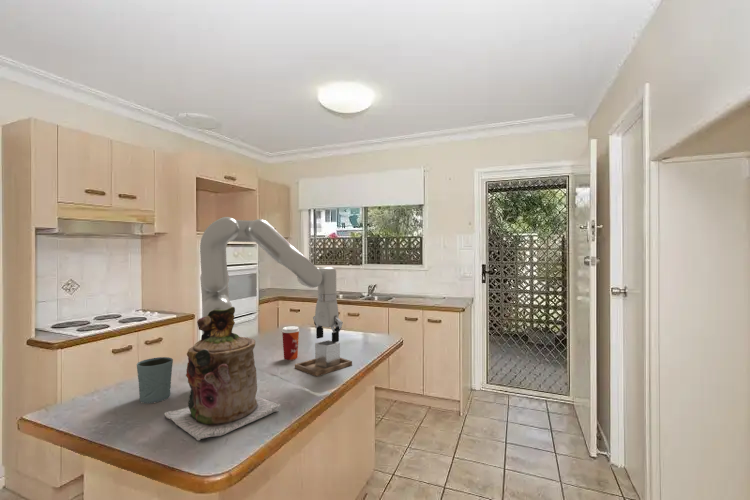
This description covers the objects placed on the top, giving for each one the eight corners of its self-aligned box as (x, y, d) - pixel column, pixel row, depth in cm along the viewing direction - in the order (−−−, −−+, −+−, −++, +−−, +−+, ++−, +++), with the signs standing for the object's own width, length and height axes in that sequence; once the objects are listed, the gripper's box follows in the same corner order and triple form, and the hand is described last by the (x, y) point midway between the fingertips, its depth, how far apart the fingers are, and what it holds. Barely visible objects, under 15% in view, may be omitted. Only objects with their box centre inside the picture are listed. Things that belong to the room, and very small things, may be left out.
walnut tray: (316, 379, 137) (316, 372, 137) (294, 370, 146) (294, 364, 146) (352, 367, 150) (352, 361, 150) (329, 360, 159) (329, 354, 159)
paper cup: (297, 362, 156) (297, 329, 156) (279, 362, 156) (279, 329, 156) (301, 357, 164) (301, 325, 164) (284, 357, 164) (284, 325, 164)
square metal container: (326, 369, 145) (326, 346, 145) (315, 365, 149) (315, 343, 149) (339, 365, 150) (339, 342, 150) (328, 361, 154) (328, 340, 154)
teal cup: (132, 406, 114) (131, 367, 114) (143, 393, 124) (142, 358, 124) (168, 402, 117) (168, 364, 117) (176, 390, 127) (176, 355, 127)
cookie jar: (239, 391, 126) (238, 297, 125) (283, 411, 110) (282, 304, 110) (160, 417, 107) (159, 307, 106) (201, 446, 91) (199, 317, 91)
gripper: (306, 296, 152) (306, 338, 153) (334, 300, 141) (334, 345, 141) (320, 295, 158) (321, 334, 158) (348, 298, 146) (348, 341, 146)
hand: (327, 339), depth 149 cm, fingers open, 9 cm apart
